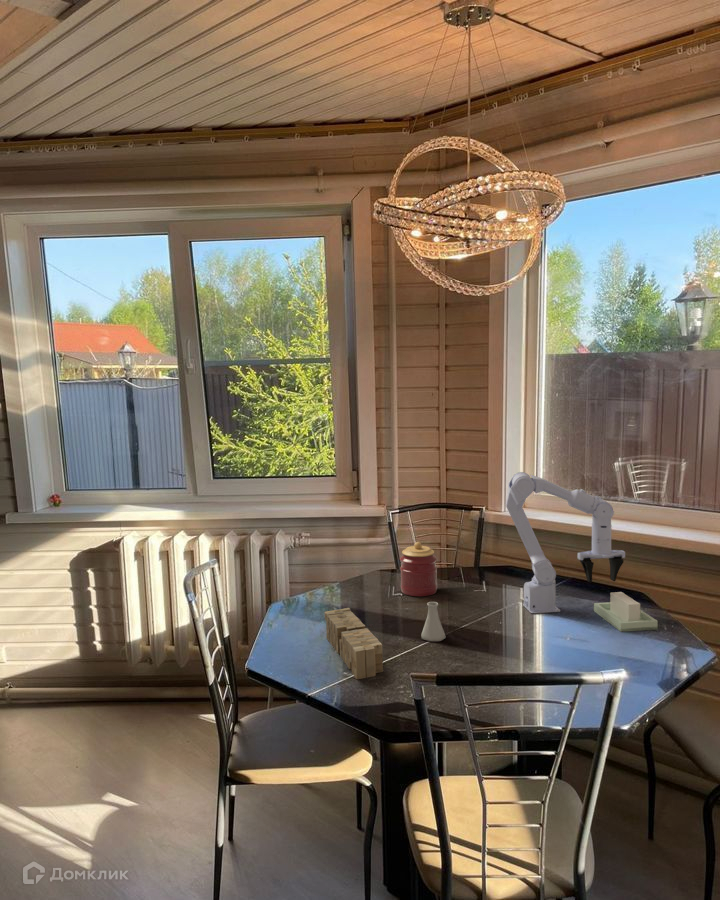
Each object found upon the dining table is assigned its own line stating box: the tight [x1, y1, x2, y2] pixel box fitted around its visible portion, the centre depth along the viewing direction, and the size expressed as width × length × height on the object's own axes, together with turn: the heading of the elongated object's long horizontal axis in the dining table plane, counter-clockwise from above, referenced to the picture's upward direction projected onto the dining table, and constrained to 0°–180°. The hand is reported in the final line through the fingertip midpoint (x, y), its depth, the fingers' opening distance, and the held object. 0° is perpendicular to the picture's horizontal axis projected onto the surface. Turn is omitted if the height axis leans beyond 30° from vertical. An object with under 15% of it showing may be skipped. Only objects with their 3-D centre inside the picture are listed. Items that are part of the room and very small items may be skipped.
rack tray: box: [593, 601, 659, 633], centre depth 189 cm, size 11×17×2 cm, turn 5°
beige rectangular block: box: [609, 591, 641, 622], centre depth 189 cm, size 4×11×6 cm, turn 5°
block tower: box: [324, 607, 384, 680], centre depth 171 cm, size 8×8×29 cm
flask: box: [420, 601, 447, 642], centre depth 180 cm, size 7×7×10 cm
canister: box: [399, 541, 438, 597], centre depth 221 cm, size 13×13×18 cm
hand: (601, 580), depth 197 cm, fingers open, 7 cm apart
